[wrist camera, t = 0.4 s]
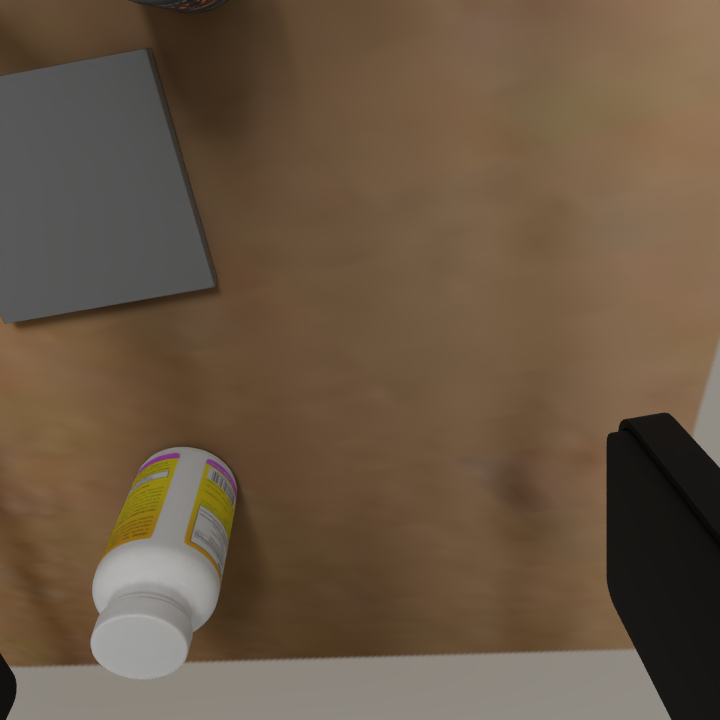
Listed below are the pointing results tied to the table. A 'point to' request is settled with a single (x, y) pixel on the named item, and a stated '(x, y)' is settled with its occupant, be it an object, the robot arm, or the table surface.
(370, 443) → the table surface
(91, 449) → the table surface
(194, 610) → the supplement bottle
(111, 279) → the plate
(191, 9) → the pill bottle
